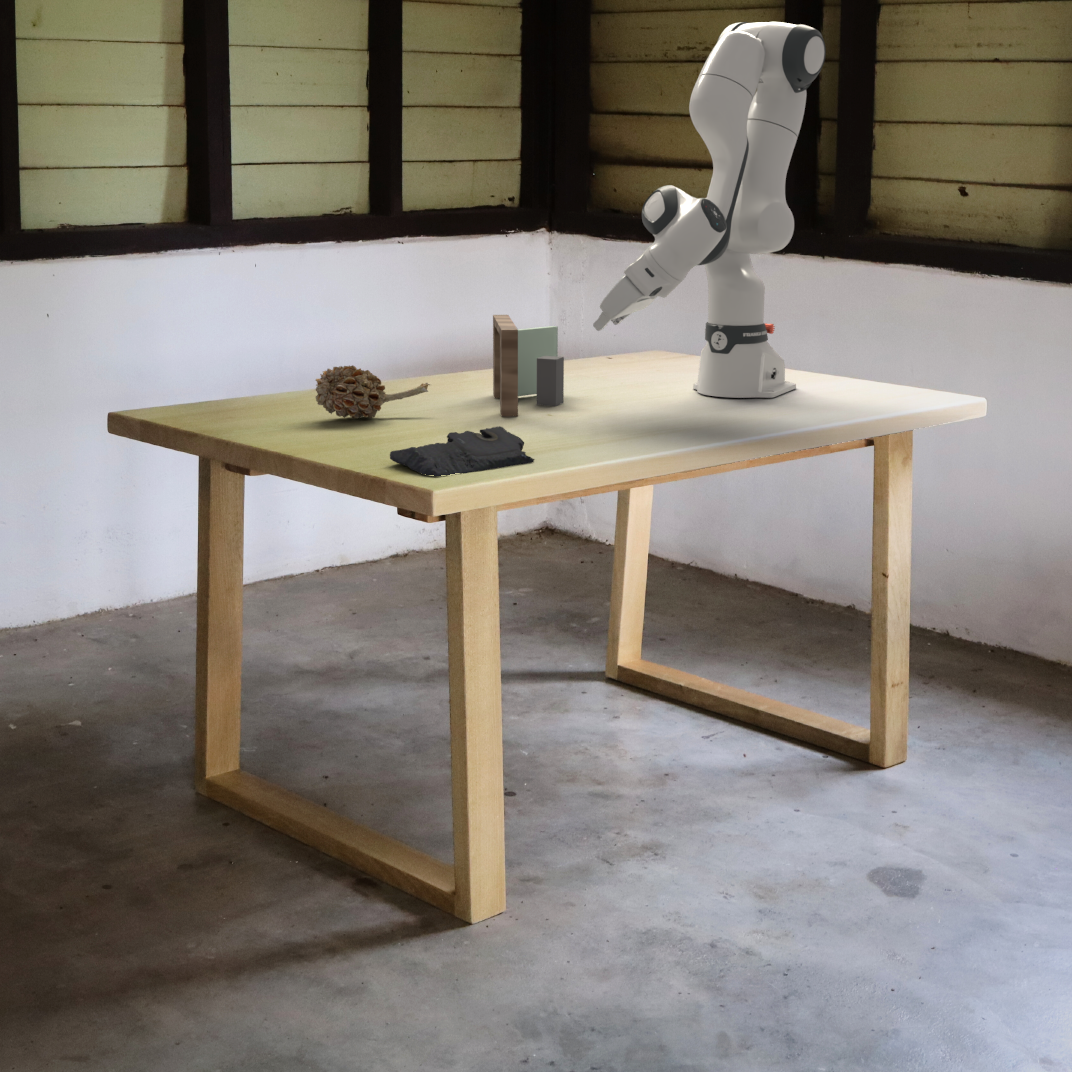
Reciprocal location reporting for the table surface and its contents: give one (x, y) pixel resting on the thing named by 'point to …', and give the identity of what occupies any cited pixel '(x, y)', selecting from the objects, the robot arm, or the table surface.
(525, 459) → the dark slate chunk
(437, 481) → the table surface
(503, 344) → the door frame
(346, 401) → the dried seed pod
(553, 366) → the gray rectangular block
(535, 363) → the door
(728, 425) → the table surface
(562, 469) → the table surface
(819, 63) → the robot arm
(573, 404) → the table surface
